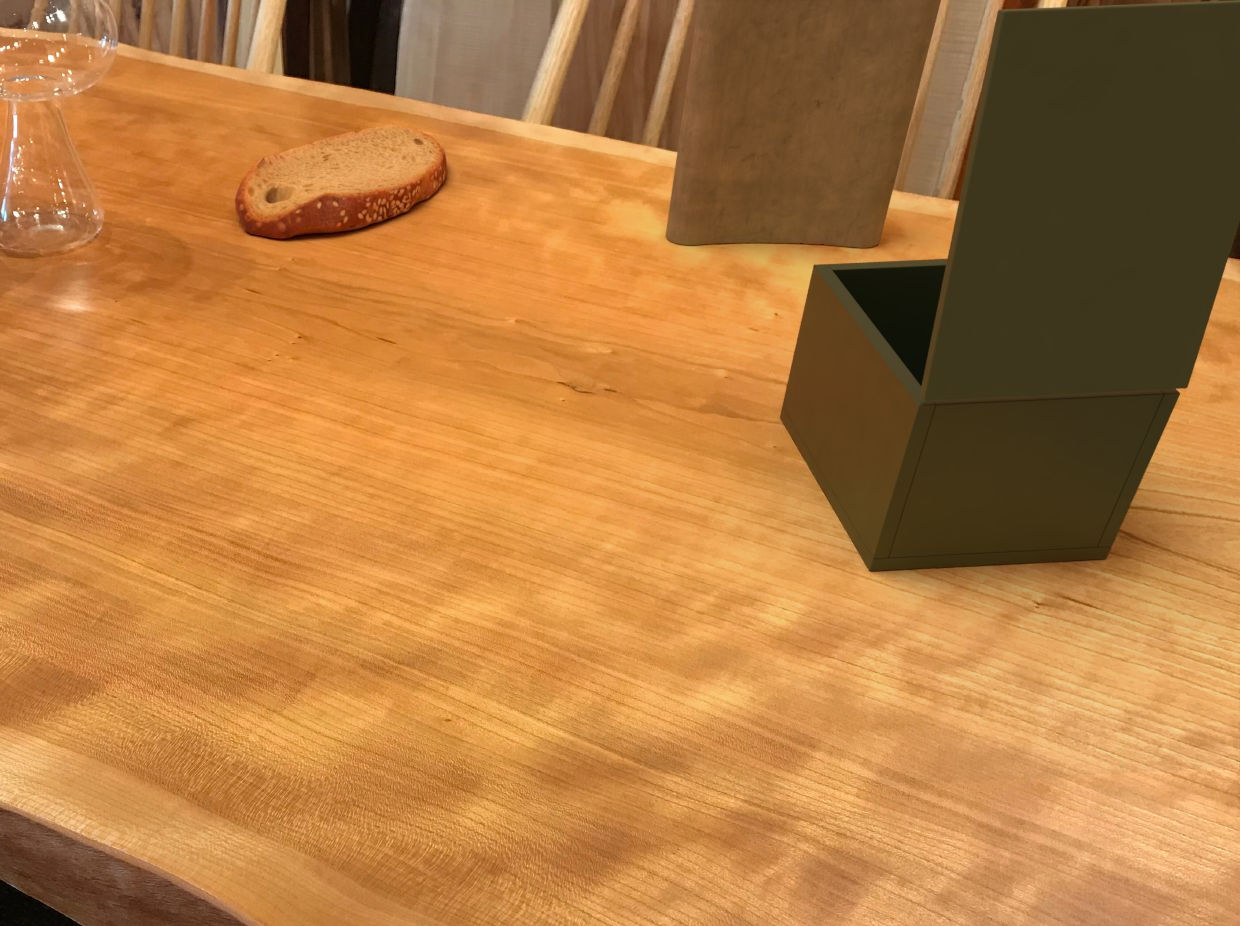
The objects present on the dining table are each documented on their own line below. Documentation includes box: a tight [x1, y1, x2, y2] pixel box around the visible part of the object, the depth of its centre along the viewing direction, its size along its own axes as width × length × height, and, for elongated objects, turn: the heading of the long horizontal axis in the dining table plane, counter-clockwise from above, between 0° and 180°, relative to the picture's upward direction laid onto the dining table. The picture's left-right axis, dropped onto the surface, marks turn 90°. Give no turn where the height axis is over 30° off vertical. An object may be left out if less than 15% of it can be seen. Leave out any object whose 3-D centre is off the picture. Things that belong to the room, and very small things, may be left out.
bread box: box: [779, 258, 1181, 572], centre depth 71 cm, size 16×13×10 cm
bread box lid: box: [920, 0, 1240, 401], centre depth 57 cm, size 16×13×1 cm
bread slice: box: [234, 123, 448, 239], centre depth 106 cm, size 18×18×4 cm
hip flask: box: [665, 0, 942, 249], centre depth 93 cm, size 16×4×20 cm, turn 85°
